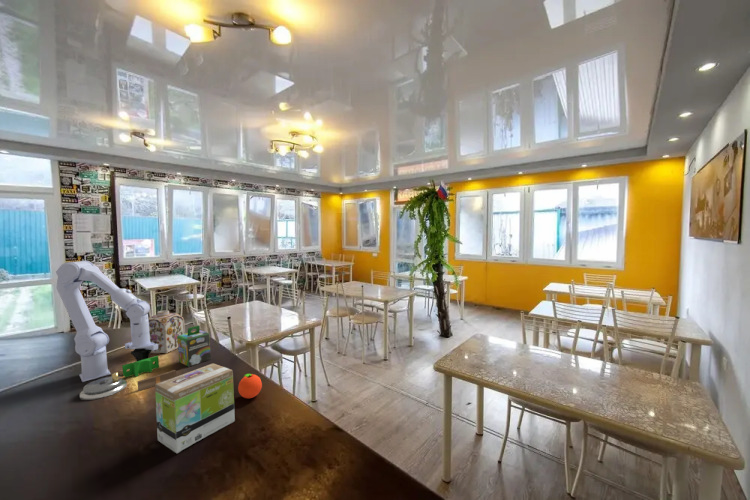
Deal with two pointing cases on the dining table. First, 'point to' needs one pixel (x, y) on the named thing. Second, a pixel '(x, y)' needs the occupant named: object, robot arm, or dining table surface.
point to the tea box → (194, 406)
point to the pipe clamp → (140, 366)
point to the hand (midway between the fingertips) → (143, 366)
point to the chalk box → (194, 347)
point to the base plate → (104, 394)
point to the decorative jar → (165, 330)
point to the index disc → (103, 384)
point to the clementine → (249, 386)
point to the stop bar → (155, 380)
